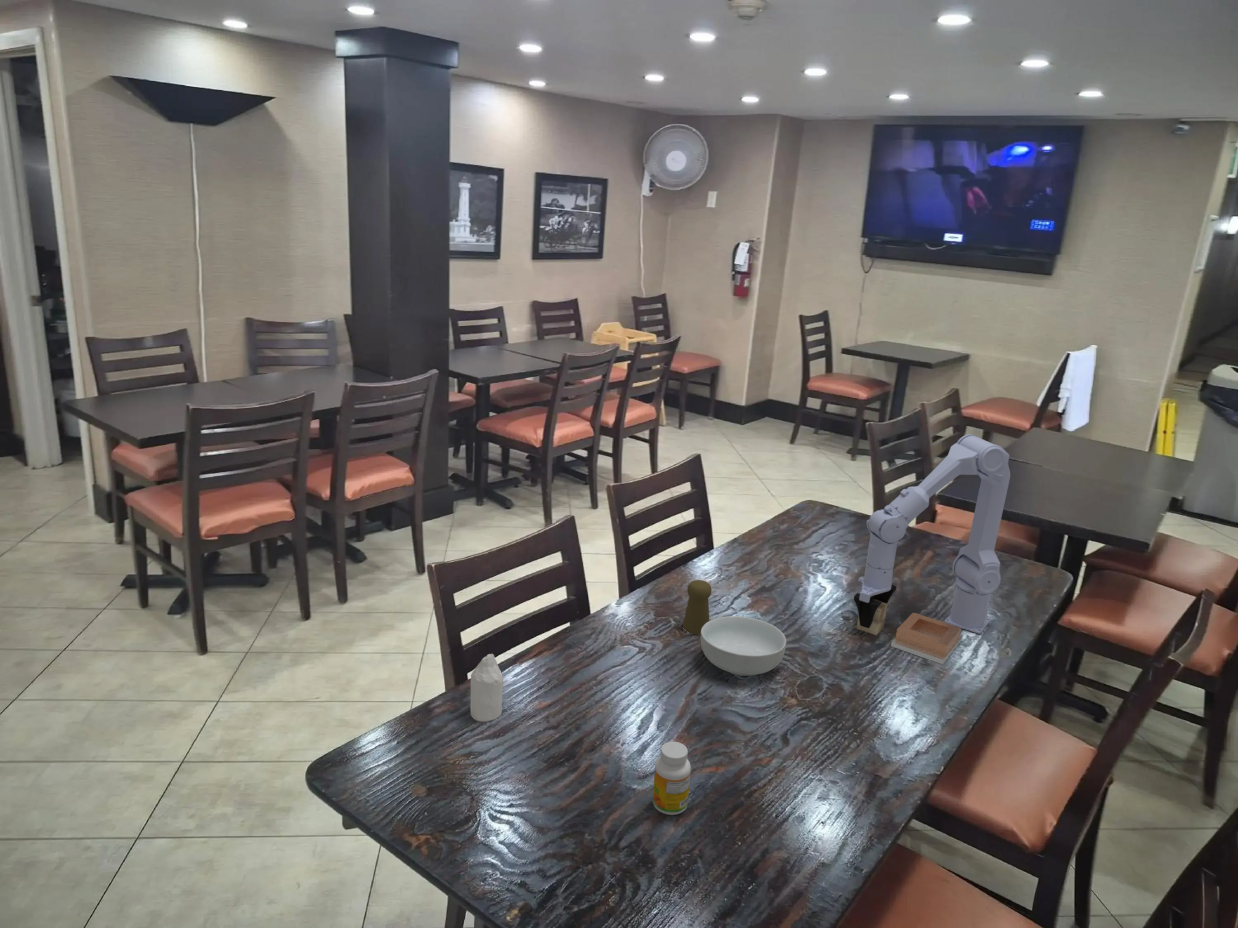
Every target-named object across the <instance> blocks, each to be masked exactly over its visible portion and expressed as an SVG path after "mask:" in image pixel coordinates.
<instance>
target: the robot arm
mask: <svg viewBox="0 0 1238 928" xmlns="http://www.w3.org/2000/svg"><path fill="white" fill-rule="evenodd" d="M1009 459H1010V454H1009V453H1008V452H1007V451H1006V450H1005V449H1004V448H1003V447H1002V446H1001V445H999V444H998V445H997V444H995V443H992V442H990V441H987V440H985V439H983V438H981V437H979V436H977V435H975V434H971V433H970V434H969V433H968V434H965V435H963V436H962V437H960V438H959V439H958V440H957V442H956V443H954V444H953V445H951V446H950V448H949V451H948V454H947V456H946V457H945V458H944V459H943V460H942V461H941V462H940V463H939V464H938V465H937V466H935V468H934V469H933V470H932V471H931V472H930V473H929V474H928V475H927V476H926V477H925V478H924V479H923V480H922V481H921V482H920V483H919V484H918V485H917V486H909V487H907V488H903V489H902V490H901V491H900V494H899V495H898V496H897V497H895V499H893V500H892V501H891V502H890V503H889V504H887V505H885V507H884V509H880V510H879V509H877V510H876V511H874V512H873V513H872V514H871V515H870V516H869V519H867V520H866V527H867V529H868V531H869V542H868V548H867V556H866V562H865V568H864V569H865V570H864V575H863V576H860V577H858V580H857V581H858V583H861V591H860V593H858V592H857V593H856V594H854V595H853V601H854V603H855V606H856V607H857V612H858V616H859V622H860V626H863V627H866V628H870V626H871V624H872V621H873V618H874V615H875V612H876V610H877V608H878V607H879V605H880V604H881V603H882V602H883V603H886V604H887V605H888V603H889V601H890V599H891V598H892V595H893V594H894V593H895V591H897V586H896V585H894V584H892V581H893V576H894V574H893V571H894V566H895V560H896V553H897V547H898V541H899V540H901V539H903V538H904V537H905V534H906V531H907V528H908V527H909V525H910V523H911V522H912V521H913V520H915V519H916V518H917V517H918V516H919V515H920V514H921V513H922V512H924V511H925V510H926V509H927V508H928V507H930V506H929V505H930V498H931V497H932V496H933V495H935V494H937V492H939V491H940V490H941V489H943V488H944V487H946V486H947V485H948V484H949V483H950V482H952V481H953V480H955V478H957V477H959V476H963V475H966V476H972V475H973V476H974V475H975V476H976V475H977V476H979V478H980V480H981V481H980V485H979V490H978V494H977V500H976V504H975V508H974V513H973V517H972V523H971V528H970V533H969V538H968V542H967V544H966V545H964V546H962V547H960V548H959V550H958V555H957V557H956V558H955V559H954V560H953V562H952V563H953V564H952V573H953V574H954V576H956V577H955V582H956V584H955V590H954V594H953V595H954V596H953V601H952V606H951V611H950V614H948V616H947V617H946V618H945V619H944V621H943V622H945V623H948V624H951V625H954V626H957V627H960V628H961V630H962V629H963V630H966V631H968V632H972V633H976V634H979V635H980V634H982V633H983V631H984V630H985V629H986V627H987V626H988V624H989V623H990V622H991V620H992V618H991V617H989V616H988V611H989V607H990V601H991V597H992V594H993V592H995V591H996V590H997V589H998V587H999V586H1000V584H1001V580H1002V577H1001V576H1002V575H1001V573H1000V570H1001V569H1000V567H1001V562H1000V559H999V558H998V556H997V554H996V552H995V550H996V549H995V548H996V543H997V539H998V534H999V530H1000V525H1001V522H1002V517H1003V511H1004V507H1005V502H1006V498H1007V493H1008V489H1009V486H1010V480H1011V470H1010V467H1009ZM876 600H877V601H876ZM879 601H880V602H879Z"/></svg>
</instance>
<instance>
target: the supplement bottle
mask: <svg viewBox="0 0 1238 928" xmlns="http://www.w3.org/2000/svg"><path fill="white" fill-rule="evenodd" d="M688 755H689V754H688V748H687V746H686V745H685V744H683V743H681V742H678V741H667V742H665V743H664V744H662V745H661V749H660V756H658V757H657V759H656V761H655V765H654V777H653V788H652V789H653V791H652V804H653V806H654V808H655V809H656V810H657V811H659V812H660V813H662V814H664V815H667V816H668V815H669V816H675V815H680V814H681V813H684V811H686V810H687V808H688V803H689V795H690V782H691V774H692V773H691V772H692V770H691V769H692V767H691V763H690V761H689V759H688Z"/></svg>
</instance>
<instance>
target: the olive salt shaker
mask: <svg viewBox="0 0 1238 928" xmlns="http://www.w3.org/2000/svg"><path fill="white" fill-rule="evenodd" d="M712 591H713V590H712V586H711V584H710V583H709V582H707V581H706V580H702V579H694V580H692V581H690V582H689V583H688V585H687V595H688V600H687V604H686V608H685V609H686V610H685V613H684V618H683V623H682V626H683V627H682V629H683V628H684V629H685V630H686V631H688V632H689V633H692V634H691V635H693V634H701V629H702V627H703V626H704V625H705V624H706V623H707V622H709V621H710V610H709V609H710V607H709V606H710V605H709V603H710V602H709V598H710V597H711V594H712ZM689 633H688V634H689Z"/></svg>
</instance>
